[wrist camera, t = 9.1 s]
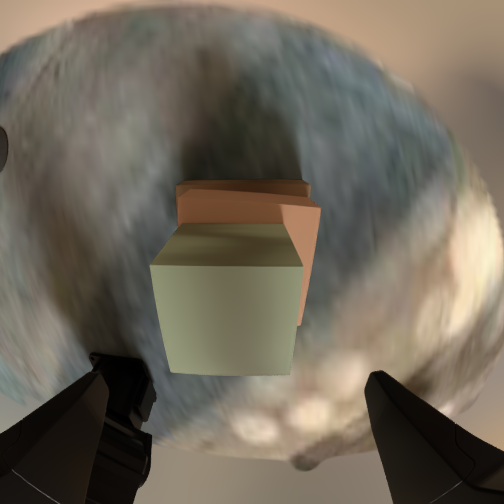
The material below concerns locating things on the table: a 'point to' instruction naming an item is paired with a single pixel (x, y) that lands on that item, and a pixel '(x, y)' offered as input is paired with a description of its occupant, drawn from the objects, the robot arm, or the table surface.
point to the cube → (228, 298)
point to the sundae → (3, 148)
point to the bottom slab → (248, 186)
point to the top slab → (258, 218)
